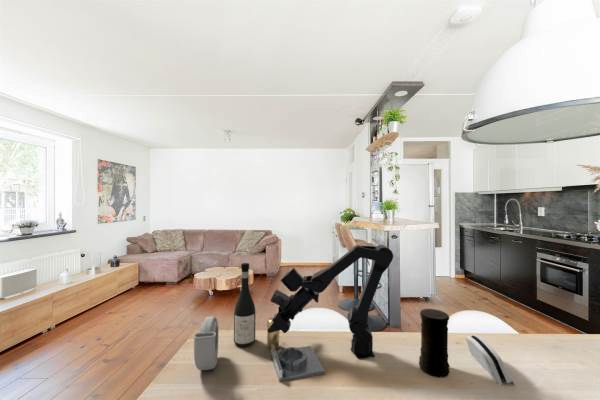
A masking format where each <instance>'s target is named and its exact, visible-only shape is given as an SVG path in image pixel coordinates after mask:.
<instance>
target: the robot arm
mask: <svg viewBox="0 0 600 400" xmlns="http://www.w3.org/2000/svg"><path fill="white" fill-rule="evenodd" d="M359 259H366V260H370V261H371V266H370V267H371V268H370V270H369V273H368V275H367V278H366V281H365V283H364V286H363V289H362V292H361V294H360V296H359V299H358V302H357V303H356V305H355V306H353V305H350V309H349V311H348V313H347V321H348V322H347V323H348V327H349V330H350V332H351V334H352V339H351V340H350V341H351V343H350V344H351V347H350V351H351V352H352V354H354V355H355V357H356V358H357V359H359V360H362V359H368V358H375V356H376V355H375V352H373V346H374V345H373V342H374V341H373V337H374V336H373V333H372V330H371V327H370V324H369V323H368V320H369V310H370V307H371V305H372V302H373V300H374V297H375V295H376V293H377V289H378V287H379V285H380V282H381V278H382V276H383V274H384V273H385V271H387V269H388V268H389V266H390V265H391V263H392V261H393V259H394V254H393V251H392V250H391V249H390V248H389V247H388V246H386V245H385V244H378V245H376V246H374V245H361V244H356V245H354V246H353V247H352V248H351V249H350V250H349V251H347V252H345V254H344V255H342V256H341V257H340V258H339V259H337V260H336V261H334V262H333V263H332V264H331V265H329V266H328V267H326V268H323V269H321V270H318V271H317V272H315V273H313V274H312V275H304V276H302V274H300V273H299V272H298V271H297V269H296V268H295V267H292V268H291V269H290V270H288V271H287V272H286V273H285V274H284V275H283V276H282V277H281V278H280V280H279V281H280V282H281V283H282V284H283V285H284V286H285V287H286V288H287V289H288V291H289V292H292V293H293V294H290V296H289V295H287V294H286V293H284V292H282V291H280V290H278V289H275V291H274V292H273V294H272V297H271V298H270V302H271V303H273V304H275V305H277V306H278V312H277V313H274V316H273V317H274V318H273V323H272V325H271V326H270V328H269V329H268V330H267V329H266V330H267V331H268V333H272V332H275V331H279V332H280V331H282V333H283V334H287V333H288V332H289V330H290V328H291V326H292V325H291V323H292V322H291V321H293V320H294V319H295V318H296V315H297V314H299V313H302V312H303V310H304V308H305V307H307V305H308V304H309V303H310V302H312V300H313V301H314V302H315V303H316V304H318V303H319V301H320V300H319V299H320V298H319V297H320V294H321V293H323V292H324V291H326V289H327V287H328V286H330V284H331V283H332V281H334V279H335V278H336V277H337V276H339V275H340V274H341V273H343V272H344V271H345V270H346V269H348V268H349V267H350V266H352V265H353V264H354V263H356V262H357V261H358V260H359ZM294 292H295V293H294Z"/></svg>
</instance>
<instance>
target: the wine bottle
mask: <svg viewBox="0 0 600 400" xmlns="http://www.w3.org/2000/svg"><path fill="white" fill-rule="evenodd" d="M240 268H241V285H240V286H241V287H240V292H239V296H238V298H237V300H236V303H235V307H234V310H233V311H234V312H233V342H234V344H235V345H236V346H238V347H244V348H245V347H249V346H251V345H253V344H254V343H255V341H256V306H255V303H254V300H253V297H252V295H251V291H250V285H249V279H250V278H249V275H250V274H249V271H250V263H249V262H243V263H241V264H240Z"/></svg>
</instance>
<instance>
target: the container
mask: <svg viewBox="0 0 600 400" xmlns="http://www.w3.org/2000/svg"><path fill="white" fill-rule="evenodd" d="M419 315H420V319H421V322H420V326H421V328H420V329H421V330H420V331H421V334H420V337H421V338H420V339H421V340H420V341H421V342H420V354H419V355H420V356H419V358H418V359H419V361H418V366H419V368H420V370H421V371H422V372H423V373H424V374H427V375H429V376H430V377H431V376H432V377H434V378H443V379H444V378H446V377H449V374H450V363H449V362H448V361H449V353H448V352H449V351H448V349H449V348H448V343H449V342H448V341H449V339H448V337H449V336H448V334H449V333H448V332H449V328H448V324H449V321H450V316H449V315H448V313H446V312H445V311H442V310H438V309H436V308H435V309H433V308H423V309H420V311H419Z"/></svg>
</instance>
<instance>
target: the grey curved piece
mask: <svg viewBox="0 0 600 400" xmlns="http://www.w3.org/2000/svg"><path fill="white" fill-rule="evenodd" d="M465 341H466V344H467V347H468V349H469V350H468V351H469V353H470V355H471V354H472V355H471V356H472V357H473V358H474V360H475V361H478V362H479V363H480V364H481V365H480V364H479V363H478V362H477V363H478V364H479V365H480V367H482V368H483V369H484V371H487V372H488V373H489V374H490V375H489V374H488V373H487V372H486V373H487V374H488V375H489V376H490V377H491V379H492V380H493V381H494V382H495V381H496V382H497V383H496V382H495V383H496V384H497V385H499V386H501V385H504V383H506V384H510V383H511V382H512V385H513V386H514V385H516V386H517V384H516V382H515V379H514V378H513V377H512V376H511V375H510V374H509V373H508V371H507V370H506V366H505V364H504V361H503V360H502V358H501V357H500V355H499V354H498V353H497V352H496V350H495V349H494V348H493V347H492V345H490V344H489V343H488V341H486V340H485V338H483V337H481V336H480V335H478V334H472V336H470V335H468V336H466V337H465Z"/></svg>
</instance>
